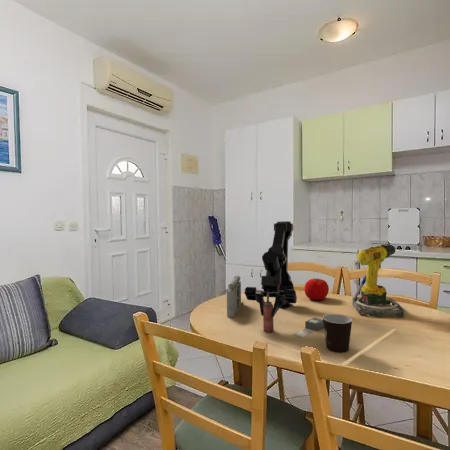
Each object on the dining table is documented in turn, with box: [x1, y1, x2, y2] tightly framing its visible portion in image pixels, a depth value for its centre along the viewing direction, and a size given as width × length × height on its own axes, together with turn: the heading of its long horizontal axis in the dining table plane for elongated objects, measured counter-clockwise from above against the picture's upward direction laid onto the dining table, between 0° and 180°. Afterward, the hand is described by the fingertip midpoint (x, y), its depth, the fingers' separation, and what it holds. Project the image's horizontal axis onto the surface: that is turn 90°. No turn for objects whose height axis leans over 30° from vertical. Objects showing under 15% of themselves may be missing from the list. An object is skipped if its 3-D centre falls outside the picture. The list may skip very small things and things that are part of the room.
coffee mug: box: [322, 313, 353, 354], centre depth 99 cm, size 12×9×10 cm
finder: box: [304, 317, 324, 332], centre depth 115 cm, size 6×4×3 cm
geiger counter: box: [221, 274, 242, 318], centre depth 143 cm, size 14×6×25 cm
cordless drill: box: [351, 244, 405, 318], centre depth 135 cm, size 18×19×28 cm
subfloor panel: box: [292, 328, 315, 339], centre depth 116 cm, size 15×16×1 cm
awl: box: [262, 293, 275, 334], centre depth 113 cm, size 4×4×14 cm
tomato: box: [303, 278, 330, 301], centre depth 154 cm, size 12×12×10 cm
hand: (267, 315), depth 112 cm, fingers closed on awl, 4 cm apart
